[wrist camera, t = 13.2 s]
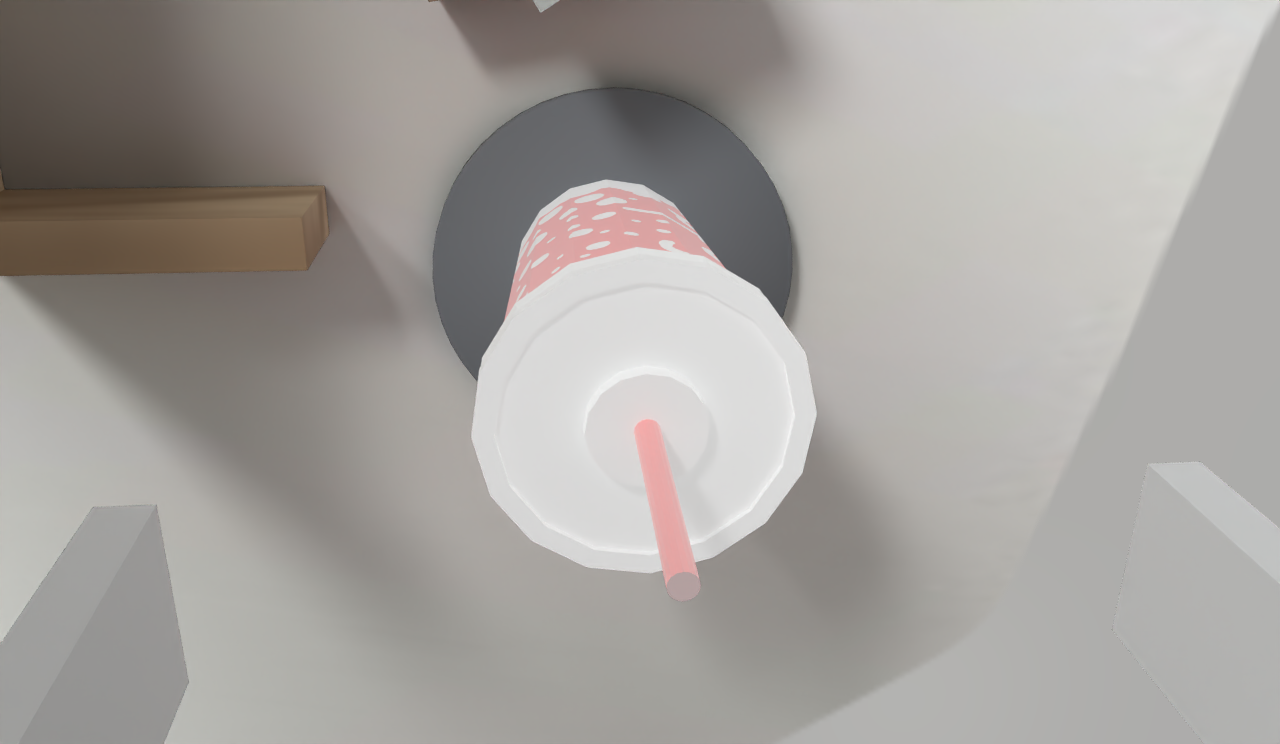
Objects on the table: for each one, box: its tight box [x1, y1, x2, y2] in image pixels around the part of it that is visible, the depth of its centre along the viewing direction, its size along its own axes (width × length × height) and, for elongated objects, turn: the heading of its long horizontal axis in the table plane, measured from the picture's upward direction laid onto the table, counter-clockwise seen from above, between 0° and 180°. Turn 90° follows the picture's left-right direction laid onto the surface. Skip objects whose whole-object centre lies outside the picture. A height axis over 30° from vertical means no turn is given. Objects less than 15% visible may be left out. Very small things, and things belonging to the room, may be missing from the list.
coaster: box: [433, 88, 792, 381], centre depth 28 cm, size 9×9×1 cm
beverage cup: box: [471, 180, 817, 601], centre depth 22 cm, size 6×6×14 cm
